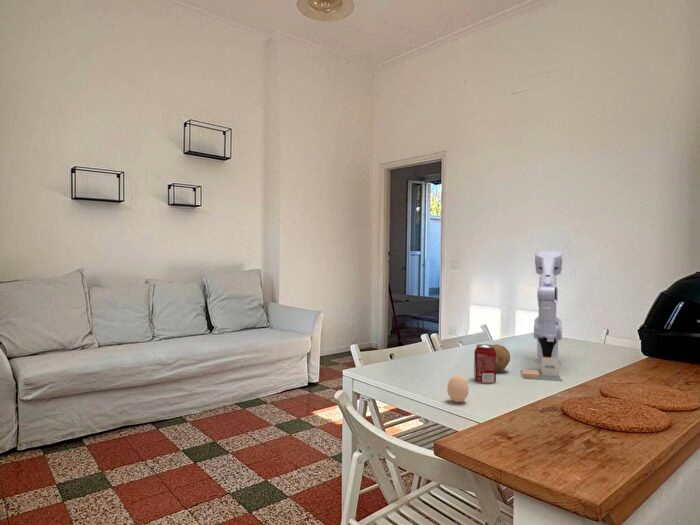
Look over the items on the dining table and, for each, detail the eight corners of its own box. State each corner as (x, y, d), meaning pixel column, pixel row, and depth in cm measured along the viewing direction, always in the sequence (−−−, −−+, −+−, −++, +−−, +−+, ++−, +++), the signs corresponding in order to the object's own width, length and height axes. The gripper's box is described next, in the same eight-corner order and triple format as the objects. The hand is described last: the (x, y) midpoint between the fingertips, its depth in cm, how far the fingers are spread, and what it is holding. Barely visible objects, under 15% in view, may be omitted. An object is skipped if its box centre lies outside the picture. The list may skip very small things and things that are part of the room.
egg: (462, 406, 123) (462, 378, 123) (443, 402, 127) (443, 375, 127) (472, 401, 128) (472, 374, 128) (453, 397, 131) (453, 371, 131)
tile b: (541, 374, 157) (541, 356, 157) (556, 375, 156) (556, 357, 156) (541, 375, 156) (541, 357, 156) (557, 376, 154) (557, 358, 154)
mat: (519, 371, 162) (519, 370, 162) (556, 373, 159) (556, 372, 159) (523, 380, 151) (523, 378, 151) (563, 382, 148) (563, 381, 148)
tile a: (521, 369, 157) (523, 373, 151) (537, 370, 156) (539, 374, 150) (521, 373, 157) (523, 378, 151) (537, 374, 156) (539, 379, 150)
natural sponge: (503, 377, 154) (503, 348, 154) (478, 372, 160) (478, 344, 160) (514, 372, 161) (514, 344, 161) (490, 368, 167) (490, 341, 167)
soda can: (497, 386, 144) (497, 348, 144) (474, 384, 145) (475, 347, 145) (494, 380, 150) (494, 344, 150) (473, 379, 152) (473, 343, 152)
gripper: (532, 317, 168) (532, 354, 168) (538, 322, 154) (537, 362, 154) (553, 318, 167) (552, 355, 167) (560, 323, 153) (560, 363, 153)
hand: (546, 359), depth 160 cm, fingers closed
